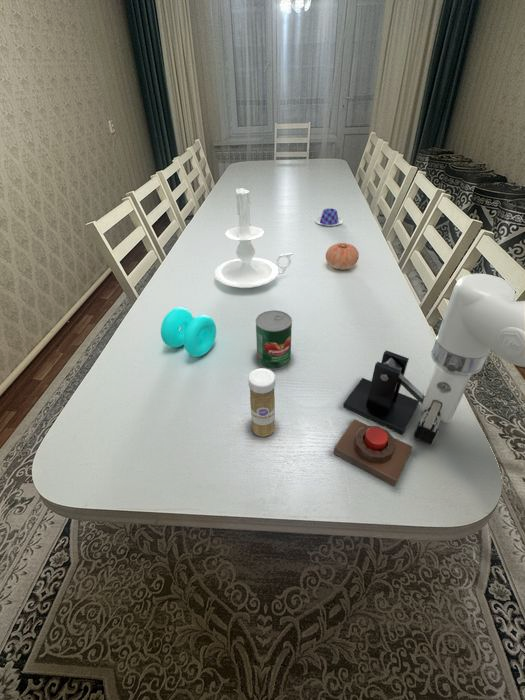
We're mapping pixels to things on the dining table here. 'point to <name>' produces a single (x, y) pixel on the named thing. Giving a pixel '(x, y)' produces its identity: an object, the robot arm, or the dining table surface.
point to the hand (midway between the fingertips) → (429, 425)
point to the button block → (373, 453)
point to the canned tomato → (273, 339)
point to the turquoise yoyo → (188, 331)
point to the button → (375, 438)
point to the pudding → (329, 218)
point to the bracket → (384, 396)
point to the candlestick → (247, 253)
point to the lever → (406, 382)
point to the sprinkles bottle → (262, 401)
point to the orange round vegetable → (342, 256)
